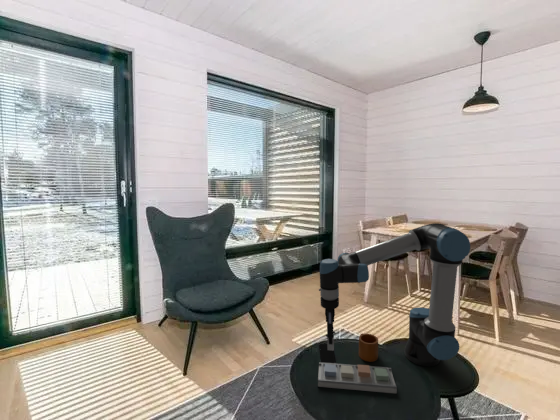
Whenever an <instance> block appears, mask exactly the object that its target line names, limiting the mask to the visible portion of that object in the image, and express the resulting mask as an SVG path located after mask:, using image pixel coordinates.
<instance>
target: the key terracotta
mask: <svg viewBox="0 0 560 420" xmlns="http://www.w3.org/2000/svg"><path fill="white" fill-rule="evenodd" d="M357 365H358V376H361V377H371V372H370V367H369V366H370V365H369V364H357Z"/></svg>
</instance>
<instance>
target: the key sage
mask: <svg viewBox="0 0 560 420" xmlns="http://www.w3.org/2000/svg"><path fill="white" fill-rule="evenodd" d="M374 373H375V377H376V380H384V381H388V373H387V370H386V369H383V368H374Z"/></svg>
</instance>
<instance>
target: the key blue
mask: <svg viewBox="0 0 560 420" xmlns="http://www.w3.org/2000/svg"><path fill="white" fill-rule="evenodd" d="M324 373H325V376H336V365H331V364H325V371H324Z"/></svg>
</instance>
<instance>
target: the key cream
mask: <svg viewBox="0 0 560 420" xmlns="http://www.w3.org/2000/svg"><path fill="white" fill-rule="evenodd" d="M341 377H348V378H353V368H352V366H344V365H341Z"/></svg>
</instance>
